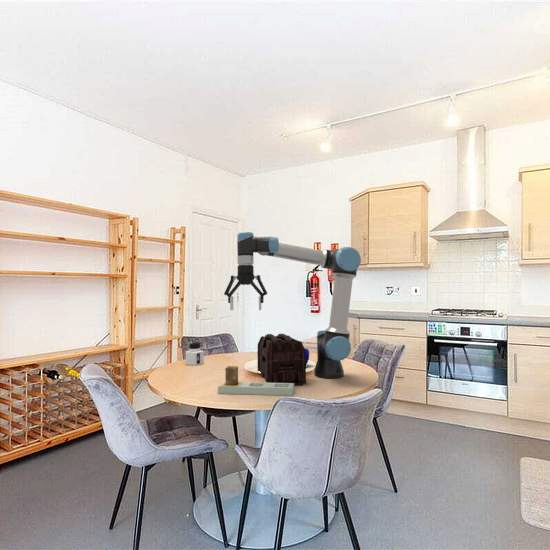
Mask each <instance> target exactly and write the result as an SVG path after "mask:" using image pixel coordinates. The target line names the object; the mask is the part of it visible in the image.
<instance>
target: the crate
mask: <svg viewBox="0 0 550 550" xmlns="http://www.w3.org/2000/svg"><path fill="white" fill-rule="evenodd" d="M302 343H303V342H302V341H301V340H298V339H295V338H293V337H292V336H290V335H287V334H285V333H278V334H277V335H274V334H272V333H267V334H265V335H264V336H262V335H261V336H260V338H259V341H258V342H257V354H256V355H257V372H258V371H260V372H261V374H259V375H260V376H261V377H262V378H264V381H265V383H294V387H298V386H299V387H301V386H304V385H305V384H307V368H306V354H305V346H304V345H303V344H302Z"/></svg>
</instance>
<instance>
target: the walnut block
mask: <svg viewBox="0 0 550 550" xmlns="http://www.w3.org/2000/svg"><path fill="white" fill-rule="evenodd" d="M224 371H225V381H226V385H234V386H237V385H238V381H239V366H238V365H237V366H236V365H234V366H233V365H228V366H226V367H225V370H224Z"/></svg>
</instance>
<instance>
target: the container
mask: <svg viewBox="0 0 550 550" xmlns="http://www.w3.org/2000/svg"><path fill="white" fill-rule="evenodd" d="M204 357H205V356H204V350H201V343H200V342H198V341H191V342H189V344H188V350H186V351H185V365H188V366H194V365H195V366H199V365H203V364H204V362H205V360H204Z"/></svg>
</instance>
